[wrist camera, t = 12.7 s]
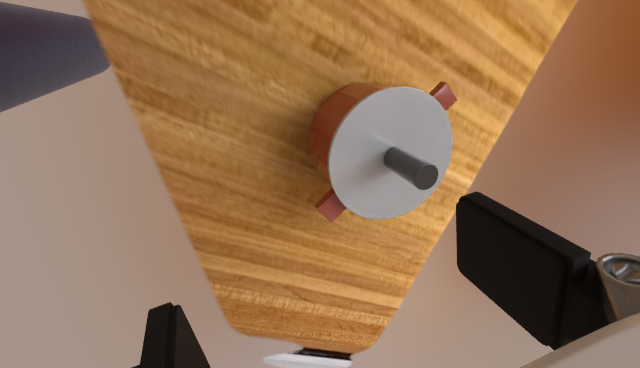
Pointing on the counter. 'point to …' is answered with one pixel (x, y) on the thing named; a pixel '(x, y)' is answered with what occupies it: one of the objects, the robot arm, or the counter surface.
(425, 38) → the counter surface
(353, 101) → the saucepan
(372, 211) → the pan lid
